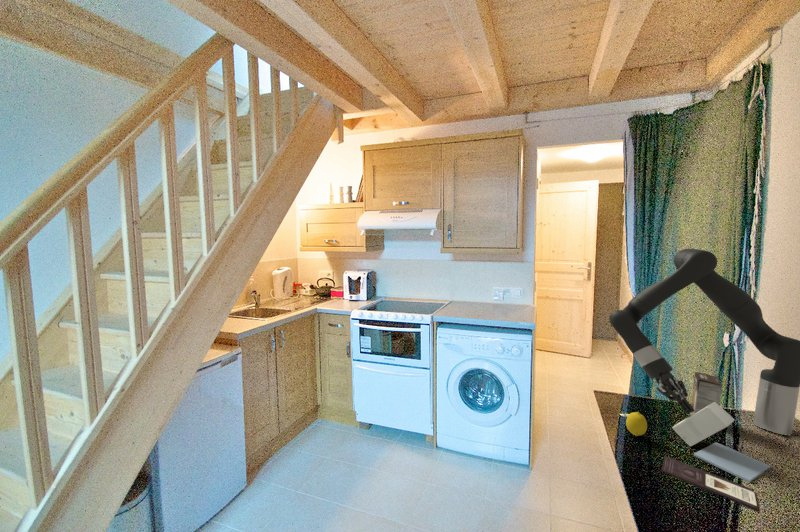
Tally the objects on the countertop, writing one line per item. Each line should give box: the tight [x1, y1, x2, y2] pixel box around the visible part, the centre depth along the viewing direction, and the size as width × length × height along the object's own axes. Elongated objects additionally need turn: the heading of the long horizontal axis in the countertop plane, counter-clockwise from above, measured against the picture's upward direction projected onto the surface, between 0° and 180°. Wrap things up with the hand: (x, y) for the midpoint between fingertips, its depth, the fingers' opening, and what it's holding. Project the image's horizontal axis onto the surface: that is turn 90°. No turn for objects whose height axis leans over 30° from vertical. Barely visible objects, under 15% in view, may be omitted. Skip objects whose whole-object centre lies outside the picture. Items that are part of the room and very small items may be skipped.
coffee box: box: [689, 371, 723, 416], centre depth 121 cm, size 9×6×16 cm
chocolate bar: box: [660, 455, 758, 512], centre depth 88 cm, size 9×1×18 cm
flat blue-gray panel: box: [693, 441, 771, 483], centre depth 97 cm, size 15×12×1 cm
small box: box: [671, 402, 736, 447], centre depth 104 cm, size 8×6×13 cm
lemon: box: [625, 411, 648, 437], centre depth 108 cm, size 6×6×8 cm
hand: (690, 412), depth 107 cm, fingers closed
